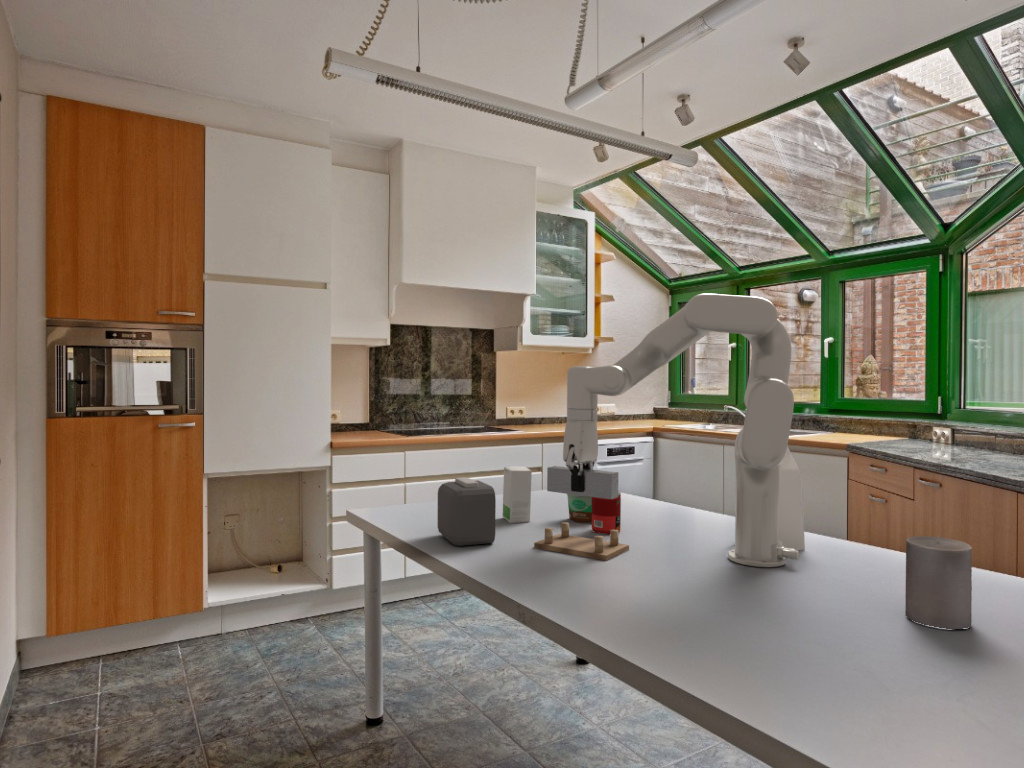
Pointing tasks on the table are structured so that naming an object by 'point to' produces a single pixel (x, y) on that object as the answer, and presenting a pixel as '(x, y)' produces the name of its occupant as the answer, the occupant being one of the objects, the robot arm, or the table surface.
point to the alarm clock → (466, 512)
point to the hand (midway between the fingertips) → (581, 489)
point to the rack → (582, 544)
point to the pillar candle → (938, 582)
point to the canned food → (606, 514)
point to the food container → (580, 508)
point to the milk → (790, 504)
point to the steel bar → (584, 482)
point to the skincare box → (517, 494)
